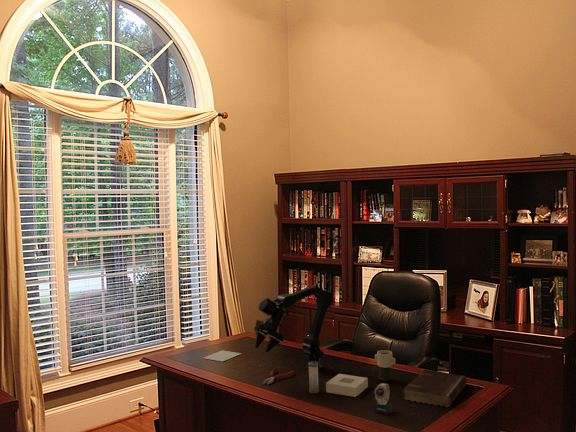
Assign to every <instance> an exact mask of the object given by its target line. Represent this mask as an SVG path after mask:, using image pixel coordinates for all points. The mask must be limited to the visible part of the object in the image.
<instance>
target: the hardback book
mask: <svg viewBox="0 0 576 432" xmlns="http://www.w3.org/2000/svg"><path fill="white" fill-rule="evenodd" d="M466 386H467V377H466V375H462V374H455V373H450V372H449V373H448V372H442V371H435V370H429V369H423V370H422V371H421V372H420V373H419V374H418V376H416V377H414V379H413V380H411V382H410V383H408V384H407V385H406V386H405V387H404V388H403V400H404V399H405V400H404V401H408V400H410V402H414V401H416V402H415V403H420V402H422V403H421V404H425V403H427V404H426V405H431V404H433V406H437V405H440V406H439V407H442V406H445V407H444V408H448V407H449V408H450V407H451V405H452V404H453V403H454V401H455V400H456V399H457V398H456V397H458V396H459V395H460V394H461V392H462V391H463V390H464V389H465V387H466ZM463 388H464V389H463ZM459 393H460V394H459ZM455 398H456V399H455ZM452 402H453V403H452Z"/></svg>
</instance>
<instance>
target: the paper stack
mask: <svg viewBox="0 0 576 432" xmlns="http://www.w3.org/2000/svg"><path fill="white" fill-rule="evenodd" d="M239 355H242V353H241V352H235V351H234V352H233V351H228V350H223V349H222V350H220V351H217V352H215V353H214V352H213V353H212V354H210V355H207V356H205V357H203V359H207V360H212V361H217V362H225V361H227V360H231V359H232V358H234V357H236V356H239Z"/></svg>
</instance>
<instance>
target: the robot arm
mask: <svg viewBox="0 0 576 432" xmlns="http://www.w3.org/2000/svg"><path fill="white" fill-rule="evenodd" d="M311 296H313V297H315V298H316V301H315V302H316V311H315V313H314V316H313V317H314V318H313V322H312V325H311V328H310V331H309V334H308V335H307V336H304V337H303V341H302V343H301V345H302V351H303V352H304V353H305V356H308V362H310V361H317V362H318V371H319V370H320V369H322V368H324V365H321V358H323V357H324V351H322V349H321V348H320V347H321V346H320V345H321V342H320V334H321V331H322V327H323V324H324V320H325V316H326V313H327V312H328V311H327V310H328V309H329V308H330V307H331V306H332V303H333V302H334V298H335V296H334V294H333V292H331V291H326V290H325V289H322V288H321V287H319V286H318V285H312V284H311V285H310V286H307V287H305V288H303V289H300V290H297V291H295V292H292V293H284V294H283V293H282V294H279V295H278V296H277V297H276V298H275V299H273V300H271V298H268V297H265V298H264V299H263V300H262V301H261V302H260V303H259V305H258V310H259V311H260V312H262V313H263V314H265V315H267V316H269V318H266V319H263V320H260V319H256V321H255V326H254V329H253V330H254V333H255V335H256V339H255V349H258V348H260V345H262V343H263V342H264V341H265V339H266V338H267V336H268V340H269V341H268V344H267V346H266V348H265V352H266V353H269V352H270V351H271V350H272V349H273V348H274V347H277V345H279V344H281V342H284V340H285V338H286V337H285V335H284V334H282V333H280V332H278V329H280V328H279V327H281V328H282V324H281V323H282V321H283V319H284V317H285V315H286V316H289V315H290V314H289V310H288V309H289V308H291V307H293V306H294V305H295V304H296V303H297V302H300V301H301V300H303V299H304V300H305V299H306V298H309V297H311ZM305 369H306V370H309V366H308V365H307V366H306V368H305Z"/></svg>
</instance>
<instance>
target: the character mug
mask: <svg viewBox="0 0 576 432" xmlns="http://www.w3.org/2000/svg"><path fill="white" fill-rule="evenodd" d="M374 361H375V362H377V364H376V365H377V366H378V367H379V369H378V380H380V381H386V382H387V381H391V380H393V373H392V369H391V367H393V366H394V365H396V358H395V357H393V352H392V351H391V350H386V349H385V350H378V351H377V353H376V354H374Z"/></svg>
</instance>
